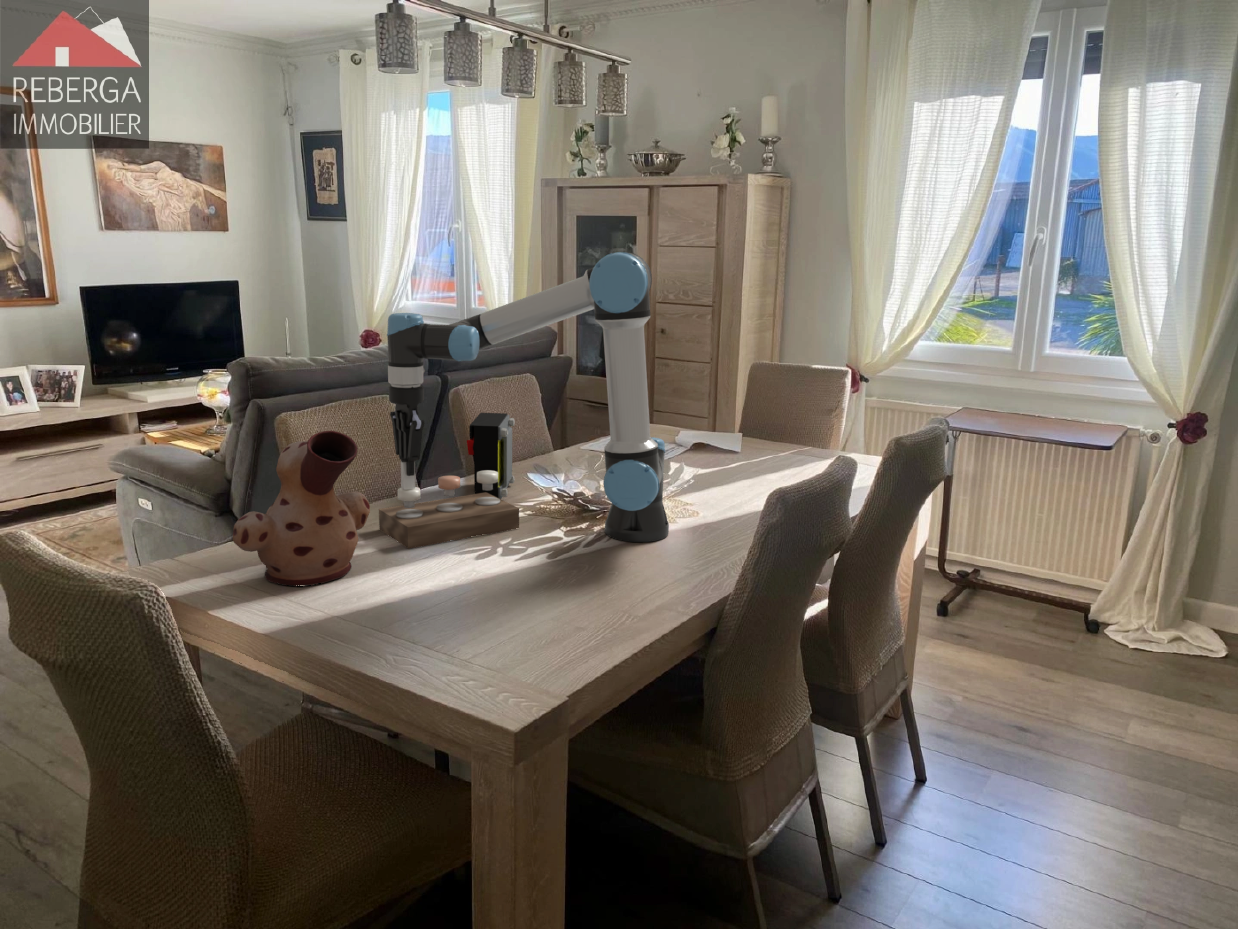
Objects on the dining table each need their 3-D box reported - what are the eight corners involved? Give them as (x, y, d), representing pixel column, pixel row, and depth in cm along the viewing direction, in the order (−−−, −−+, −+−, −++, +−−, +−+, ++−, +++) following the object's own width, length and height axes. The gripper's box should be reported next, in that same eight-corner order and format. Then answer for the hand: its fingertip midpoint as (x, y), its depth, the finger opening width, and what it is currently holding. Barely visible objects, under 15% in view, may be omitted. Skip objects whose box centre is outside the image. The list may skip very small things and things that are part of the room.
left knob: (424, 507, 208) (423, 490, 207) (403, 511, 205) (403, 493, 204) (414, 502, 212) (414, 485, 211) (394, 505, 209) (393, 488, 208)
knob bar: (519, 528, 218) (519, 506, 217) (408, 548, 202) (407, 525, 201) (486, 511, 231) (486, 490, 229) (379, 529, 214) (378, 506, 213)
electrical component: (506, 502, 240) (506, 426, 235) (467, 500, 240) (466, 425, 235) (515, 484, 257) (515, 413, 252) (478, 483, 257) (478, 412, 252)
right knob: (501, 490, 220) (501, 473, 219) (483, 493, 217) (483, 476, 216) (491, 485, 224) (491, 469, 223) (473, 488, 221) (473, 471, 220)
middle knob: (464, 496, 214) (463, 479, 213) (444, 499, 211) (444, 482, 210) (454, 491, 218) (454, 474, 217) (434, 493, 215) (434, 477, 214)
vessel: (332, 545, 203) (326, 411, 196) (408, 566, 192) (404, 424, 185) (217, 584, 179) (205, 433, 171) (296, 610, 168) (287, 450, 160)
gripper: (435, 387, 199) (436, 493, 205) (409, 379, 209) (411, 479, 215) (402, 390, 195) (404, 497, 201) (378, 381, 205) (380, 483, 211)
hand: (408, 488), depth 208 cm, fingers closed
